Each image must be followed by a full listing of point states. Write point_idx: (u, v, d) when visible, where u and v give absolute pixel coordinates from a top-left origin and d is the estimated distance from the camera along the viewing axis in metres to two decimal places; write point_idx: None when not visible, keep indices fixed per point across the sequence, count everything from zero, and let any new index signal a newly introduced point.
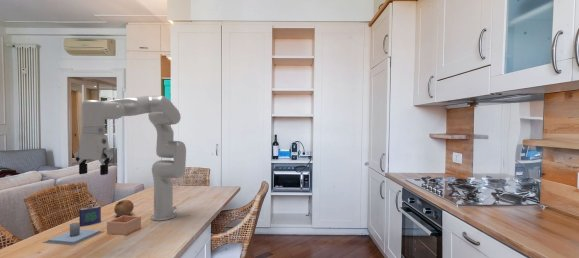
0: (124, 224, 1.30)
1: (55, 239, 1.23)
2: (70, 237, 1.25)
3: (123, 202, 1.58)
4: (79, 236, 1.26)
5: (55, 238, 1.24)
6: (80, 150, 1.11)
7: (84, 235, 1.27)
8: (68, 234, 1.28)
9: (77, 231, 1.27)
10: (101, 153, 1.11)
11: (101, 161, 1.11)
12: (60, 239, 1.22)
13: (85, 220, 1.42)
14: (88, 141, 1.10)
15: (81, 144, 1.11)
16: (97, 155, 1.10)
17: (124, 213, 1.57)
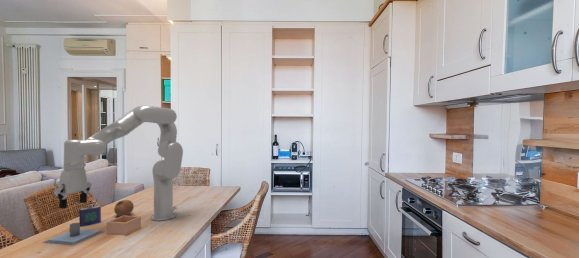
0: (124, 224, 1.30)
1: (55, 239, 1.23)
2: (70, 237, 1.25)
3: (123, 202, 1.58)
4: (79, 236, 1.26)
5: (55, 238, 1.24)
6: (69, 185, 1.23)
7: (84, 235, 1.27)
8: (68, 234, 1.28)
9: (77, 231, 1.27)
10: None
11: (85, 191, 1.32)
12: (60, 239, 1.22)
13: (85, 221, 1.42)
14: (79, 176, 1.27)
15: (71, 180, 1.24)
16: (85, 186, 1.31)
17: (124, 213, 1.57)
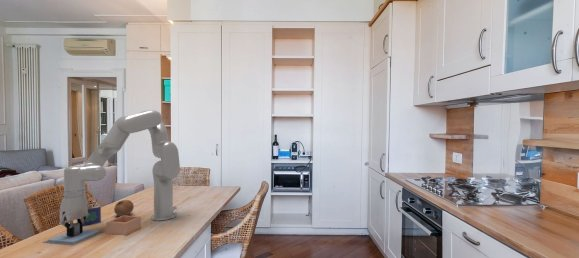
0: (124, 224, 1.30)
1: (55, 239, 1.23)
2: (70, 237, 1.25)
3: (123, 202, 1.58)
4: (79, 236, 1.26)
5: (55, 238, 1.24)
6: (70, 213, 1.23)
7: (84, 235, 1.27)
8: None
9: (77, 231, 1.27)
10: None
11: (82, 220, 1.30)
12: (60, 239, 1.22)
13: (85, 221, 1.42)
14: (79, 202, 1.27)
15: (72, 207, 1.24)
16: (86, 212, 1.31)
17: (124, 213, 1.57)
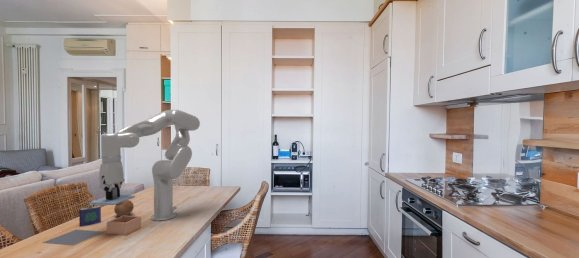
0: (124, 224, 1.30)
1: (96, 202, 1.29)
2: (109, 200, 1.31)
3: (123, 202, 1.58)
4: (117, 199, 1.32)
5: (95, 201, 1.30)
6: (109, 177, 1.29)
7: (122, 198, 1.33)
8: None
9: (115, 195, 1.33)
10: None
11: (119, 185, 1.36)
12: (100, 201, 1.29)
13: (85, 221, 1.42)
14: (116, 167, 1.33)
15: (110, 171, 1.30)
16: (122, 177, 1.37)
17: (124, 213, 1.57)
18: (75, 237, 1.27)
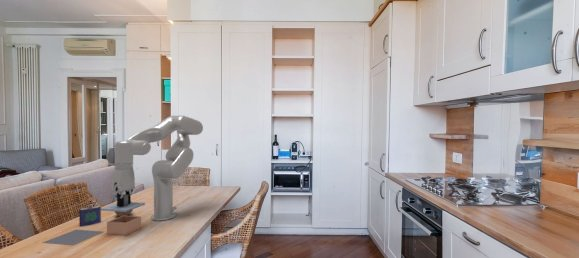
0: (124, 224, 1.30)
1: (107, 208, 1.30)
2: (120, 207, 1.32)
3: None
4: (128, 206, 1.34)
5: (107, 207, 1.31)
6: (121, 184, 1.31)
7: (133, 205, 1.35)
8: None
9: (126, 202, 1.35)
10: None
11: (130, 192, 1.38)
12: (112, 208, 1.30)
13: (85, 221, 1.42)
14: (128, 175, 1.35)
15: (123, 178, 1.32)
16: (133, 185, 1.39)
17: (124, 213, 1.57)
18: (75, 237, 1.27)
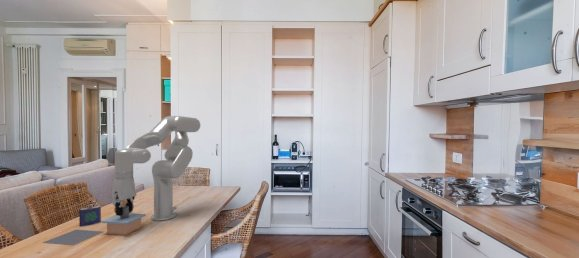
0: (124, 224, 1.30)
1: (108, 220, 1.31)
2: (121, 219, 1.33)
3: (123, 202, 1.58)
4: (129, 218, 1.34)
5: (107, 220, 1.32)
6: (122, 193, 1.31)
7: (133, 217, 1.35)
8: (118, 217, 1.36)
9: (127, 213, 1.35)
10: None
11: (132, 200, 1.39)
12: (113, 220, 1.30)
13: (85, 221, 1.42)
14: (129, 183, 1.35)
15: (123, 187, 1.32)
16: (133, 193, 1.39)
17: None
18: (75, 237, 1.27)
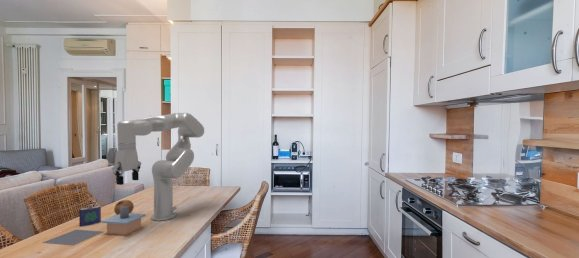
0: (124, 224, 1.30)
1: (108, 220, 1.31)
2: (121, 219, 1.33)
3: (123, 202, 1.58)
4: (129, 218, 1.34)
5: (107, 220, 1.32)
6: (125, 163, 1.32)
7: (133, 217, 1.35)
8: (118, 217, 1.36)
9: (127, 213, 1.35)
10: None
11: (137, 169, 1.41)
12: (113, 220, 1.30)
13: (85, 221, 1.42)
14: (132, 155, 1.36)
15: (126, 158, 1.32)
16: (137, 165, 1.40)
17: None
18: (75, 237, 1.27)
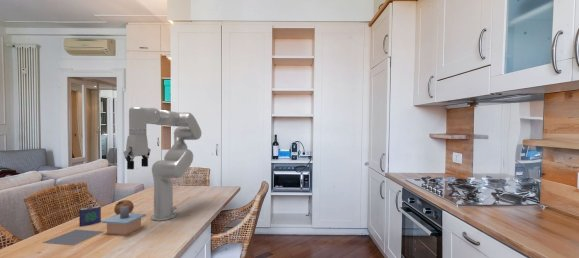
0: (124, 224, 1.30)
1: (108, 220, 1.31)
2: (121, 219, 1.33)
3: (123, 202, 1.58)
4: (129, 218, 1.34)
5: (107, 220, 1.32)
6: (136, 148, 1.33)
7: (133, 217, 1.35)
8: (118, 217, 1.36)
9: (127, 213, 1.35)
10: None
11: (147, 155, 1.42)
12: (113, 220, 1.30)
13: (85, 221, 1.42)
14: (142, 140, 1.37)
15: (137, 143, 1.34)
16: (147, 151, 1.41)
17: None
18: (75, 237, 1.27)
